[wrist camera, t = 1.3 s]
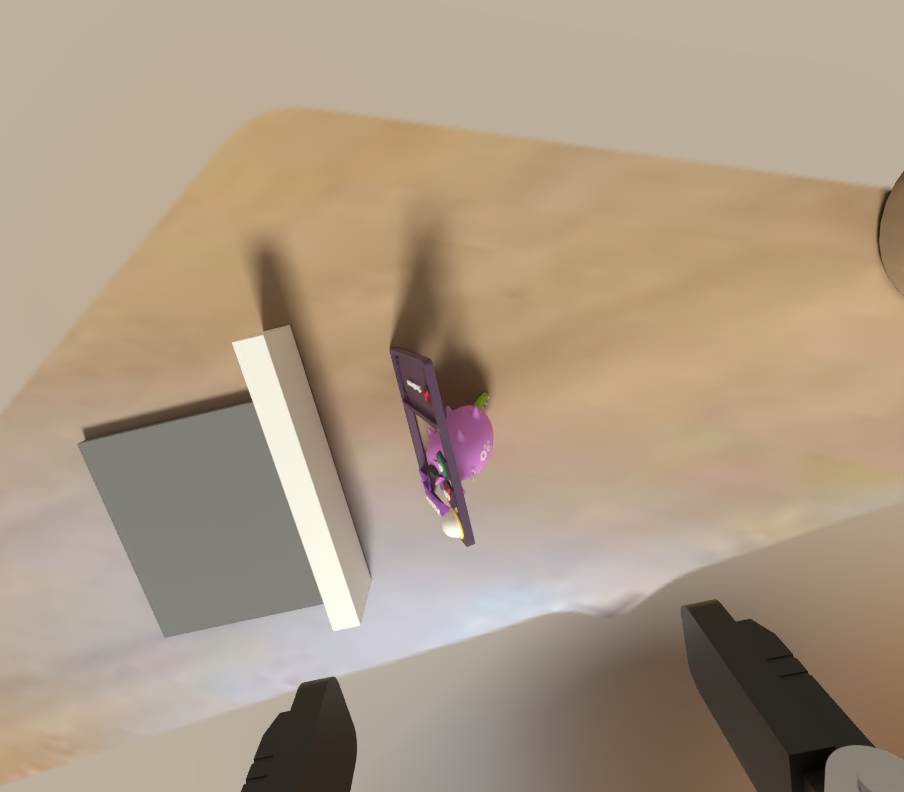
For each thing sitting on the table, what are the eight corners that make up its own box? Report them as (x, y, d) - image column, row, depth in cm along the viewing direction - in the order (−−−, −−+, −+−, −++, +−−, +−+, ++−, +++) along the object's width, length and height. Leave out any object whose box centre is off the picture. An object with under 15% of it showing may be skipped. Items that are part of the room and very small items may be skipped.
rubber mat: (270, 396, 28) (266, 398, 27) (338, 594, 31) (336, 600, 31) (84, 440, 29) (77, 443, 28) (170, 630, 32) (164, 637, 31)
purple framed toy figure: (406, 366, 21) (453, 554, 23) (517, 334, 22) (552, 515, 25) (375, 352, 27) (415, 501, 29) (464, 328, 29) (495, 472, 31)
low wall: (289, 324, 27) (263, 334, 23) (371, 580, 31) (360, 625, 27) (262, 331, 27) (231, 342, 23) (347, 585, 31) (333, 630, 27)
